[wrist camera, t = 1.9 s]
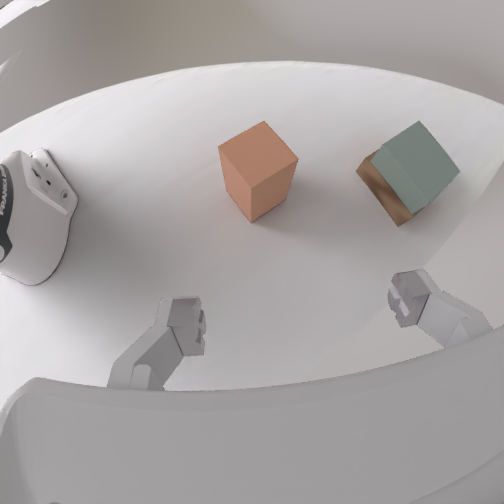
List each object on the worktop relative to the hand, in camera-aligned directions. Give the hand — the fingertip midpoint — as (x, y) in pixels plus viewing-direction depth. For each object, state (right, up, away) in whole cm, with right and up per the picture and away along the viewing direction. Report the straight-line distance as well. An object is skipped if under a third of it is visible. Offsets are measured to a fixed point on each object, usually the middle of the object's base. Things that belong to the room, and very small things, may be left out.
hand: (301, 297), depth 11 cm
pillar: (-2, +9, +22) cm, 24 cm away
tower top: (+18, +12, +19) cm, 28 cm away
